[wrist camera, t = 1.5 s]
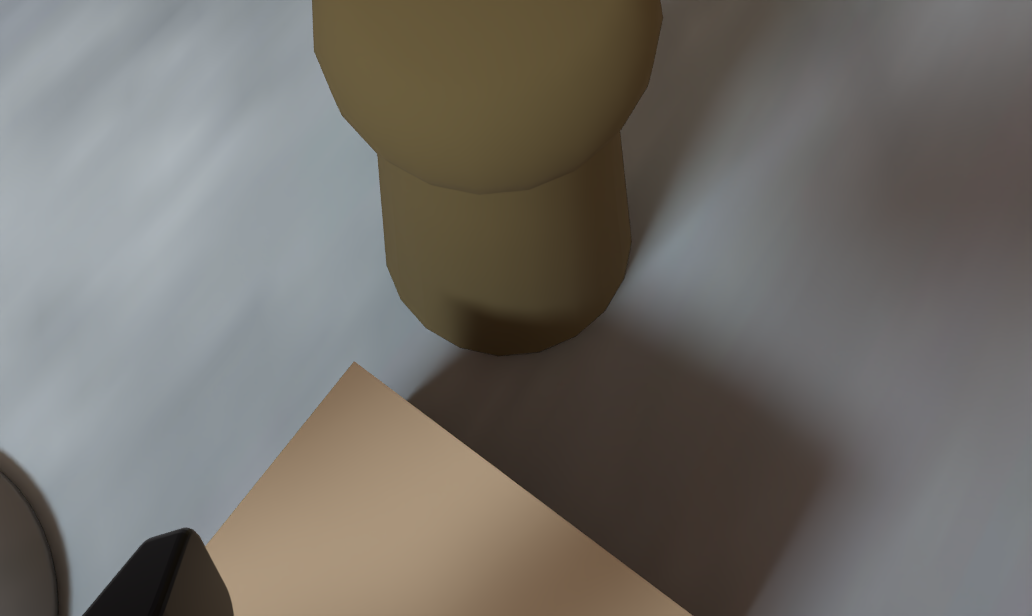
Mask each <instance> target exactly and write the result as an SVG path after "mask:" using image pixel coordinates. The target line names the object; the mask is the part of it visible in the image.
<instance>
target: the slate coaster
mask: <svg viewBox="0 0 1032 616" xmlns="http://www.w3.org/2000/svg"><path fill="white" fill-rule="evenodd" d="M0 616H58V596H57V583H56V574H55V570H54V565H53V560H52V555H51V551H50V548H49V545H48V543H47V540H46V537H45V534H44V531H43V529H42V526H41V525H40V523H39V521H38V519H37V517H36V515H35V513H34V511H33V509H32V508H31V506H30V504H29V503H28V502H27V500H26V499H25V498H24V496H23V495H22V494H21V492H20V491H19V489H18V488H17V487H16V486H15V485H14V484H13V483H12V482H11V481H10V480H9V479H8V478H7V477H6V476H5V475H4V474H3V473H2V472H1V471H0Z"/></svg>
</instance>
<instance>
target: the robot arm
mask: <svg viewBox="0 0 1032 616" xmlns="http://www.w3.org/2000/svg"><path fill="white" fill-rule="evenodd" d="M82 616H234V612H233V606H232V601H231V598H230V595H229V592H228V589H227V587H226V585H225V583H224V581H223V579H222V577H221V576H220V574H219V572H218V570H217V568H216V566H215V564H214V562H213V560H212V559H211V557H210V555H209V553H208V551H207V549H206V547H205V545H204V543H203V542H202V540H201V538H200V536H199V535H198V534H197V533H196V532H195V531H194V530H193V529H190V528H187V527H186V528H181V529H178V530H175V531H171V532H168V533H165V534H161V535H158V536H155V537H152V538H149V539H147V540H146V541H145V542H144V543H143V544H142V545H141V546H140V547H139V548H138V549H137V550H136V552H135V553H134V554H133V555H132V556H131V558H130V559H129V560H128V561H127V562H126V564H125V565H124V566H123V567H122V569H121V570H120V571H119V572H118V573H117V575H116V576H115V577H114V578H113V579H112V581H111V582H110V583H109V584H108V585H107V587H106V588H105V589H104V590H103V591H102V593H101V594H100V595H99V596H98V597H97V599H96V600H95V601H94V602H93V603H92V605H91V606H90V607H89V608H88V609H87V611H86V612H85V613H84V614H83V615H82Z"/></svg>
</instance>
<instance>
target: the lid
mask: <svg viewBox="0 0 1032 616" xmlns="http://www.w3.org/2000/svg"><path fill="white" fill-rule="evenodd" d="M205 547H206V549H207V551H208V553H209V555H210V557H211V559H212V560H213V562H214V564H215V566H216V568H217V570H218V572H219V574H220V576H221V577H222V579H223V581H224V583H225V585H226V587H227V589H228V592H229V595H230V598H231V601H232V606H233V612H234V616H693V615H691V614H690V613H689V612H687V611H686V610H685V609H683V608H682V607H681V606H679V605H678V604H677V603H675V602H674V601H673V600H671V599H670V598H669V597H667V596H666V595H665V594H663V593H662V592H661V591H659V590H658V589H657V588H655V587H654V586H653V585H651V584H650V583H649V582H647V581H646V580H645V579H643V578H642V577H641V576H639V575H638V574H637V573H635V572H634V571H633V570H631V569H630V568H629V567H627V566H626V565H625V564H623V563H622V562H621V561H619V560H618V559H617V558H615V557H614V556H613V555H611V554H610V553H609V552H607V551H606V550H605V549H603V548H602V547H601V546H599V545H598V544H597V543H595V542H594V541H593V540H591V539H590V538H589V537H587V536H586V535H585V534H583V533H582V532H581V531H579V530H578V529H577V528H575V527H574V526H573V525H571V524H570V523H569V522H567V521H566V520H565V519H563V518H562V517H561V516H559V515H558V514H557V513H555V512H554V511H553V510H551V509H550V508H549V507H547V506H546V505H545V504H543V503H542V502H541V501H539V500H538V499H537V498H535V497H534V496H533V495H531V494H530V493H529V492H527V491H526V490H525V489H523V488H522V487H521V486H519V485H518V484H517V483H515V482H514V481H513V480H511V479H510V478H509V477H507V476H506V475H505V474H503V473H502V472H501V471H499V470H498V469H497V468H495V467H494V466H493V465H491V464H490V463H489V462H487V461H486V460H485V459H483V458H482V457H481V456H479V455H478V454H477V453H475V452H474V451H473V450H471V449H470V448H469V447H467V446H466V445H465V444H463V443H462V442H461V441H459V440H458V439H457V438H455V437H454V436H453V435H451V434H450V433H449V432H448V431H446V430H445V429H444V428H442V427H441V426H440V425H438V424H437V423H436V422H434V421H433V420H432V419H430V418H429V417H428V416H426V415H425V414H424V413H422V412H421V411H420V410H418V409H417V408H416V407H414V406H413V405H412V404H410V403H409V402H408V401H406V400H405V399H404V398H402V397H401V396H400V395H398V394H397V393H396V392H394V391H393V390H392V389H390V388H389V387H388V386H386V385H385V384H384V383H382V382H381V381H380V380H378V379H377V378H376V377H374V376H373V375H372V374H370V373H369V372H368V371H366V370H365V369H364V368H362V367H361V366H360V365H358V364H357V363H356V362H353V363H352V365H351V366H350V367H349V368H348V370H347V371H346V372H345V373H344V375H343V376H342V377H341V378H340V380H339V381H338V382H337V383H336V385H335V386H334V387H333V388H332V390H331V391H330V392H329V393H328V395H327V396H326V397H325V398H324V399H323V401H322V402H321V403H320V404H319V406H318V407H317V408H316V409H315V411H314V412H313V413H312V414H311V416H310V417H309V418H308V419H307V421H306V422H305V423H304V424H303V426H302V427H301V428H300V429H299V431H298V432H297V433H296V434H295V436H294V437H293V438H292V439H291V441H290V442H289V443H288V444H287V445H286V447H285V448H284V449H283V450H282V452H281V453H280V454H279V455H278V457H277V458H276V459H275V460H274V462H273V463H272V464H271V465H270V467H269V468H268V469H267V470H266V472H265V473H264V474H263V475H262V477H261V478H260V479H259V480H258V482H257V483H256V484H255V485H254V487H253V488H252V489H251V490H250V492H249V493H248V494H247V495H246V496H245V498H244V499H243V500H242V501H241V503H240V504H239V505H238V506H237V508H236V509H235V510H234V511H233V513H232V514H231V515H230V516H229V518H228V519H227V520H226V521H225V523H224V524H223V525H222V526H221V528H220V529H219V530H218V531H217V533H216V534H215V535H214V536H213V538H212V539H211V540H210V541H209V542H208V544H207V545H206V546H205Z"/></svg>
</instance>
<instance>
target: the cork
mask: <svg viewBox="0 0 1032 616" xmlns="http://www.w3.org/2000/svg"><path fill="white" fill-rule="evenodd" d="M312 11H313V37H314V52H315V54H316V57H317V59H318V62H319V64H320V66H321V69H322V71H323V74H324V76H325V78H326V81H327V83H328V85H329V88H330V90H331V93H332V95H333V97H334V99H335V102H336V104H337V106H338V108H339V110H340V112H341V115H342V116H343V117H344V118H345V119H346V120H347V122H348V123H349V124H350V125H351V126H352V127H353V128H354V129H355V130H356V131H357V132H358V134H359V135H360V136H361V137H362V138H363V139H364V140H365V141H366V142H367V143H368V144H369V145H370V147H371V148H372V149H373V150H374V151H375V152H376V153H377V156H378V168H379V180H380V192H381V204H382V216H383V228H384V240H385V252H386V264H387V268H388V270H389V272H390V275H391V277H392V280H393V282H394V284H395V287H396V289H397V292H398V294H399V296H400V299H401V300H402V301H403V303H404V304H405V305H406V306H407V307H408V308H409V309H410V311H411V312H412V313H413V314H414V315H415V316H416V317H417V318H418V320H419V321H420V322H421V323H422V324H423V325H424V326H425V327H426V328H427V329H429V330H430V331H432V332H434V333H435V334H437V335H439V336H441V337H442V338H444V339H446V340H448V341H449V342H451V343H453V344H455V345H456V346H458V347H460V348H464V349H469V350H474V351H478V352H483V353H488V354H492V355H497V356H503V355H513V354H524V353H534V352H540V351H542V350H545V349H547V348H549V347H552V346H554V345H556V344H559V343H561V342H564V341H566V340H568V339H571V338H573V337H575V336H577V335H578V334H579V333H580V332H581V331H582V330H583V329H585V328H586V327H587V326H588V325H589V324H590V323H591V322H593V321H594V320H595V319H596V318H597V317H598V316H600V315H601V314H602V313H603V312H604V311H605V310H606V308H607V306H608V305H609V303H610V301H611V300H612V298H613V296H614V295H615V293H616V291H617V289H618V288H619V286H620V284H621V283H622V281H623V279H624V277H625V272H626V267H627V262H628V257H629V252H630V247H631V242H632V241H631V232H630V222H629V212H628V203H627V193H626V184H625V174H624V165H623V155H622V146H621V136H620V130H621V129H622V127H623V126H624V124H625V123H626V121H627V119H628V118H629V116H630V114H631V113H632V111H633V110H634V108H635V106H636V105H637V103H638V101H639V100H640V98H641V97H642V95H643V93H644V92H645V90H646V88H647V87H648V84H649V80H650V76H651V72H652V68H653V63H654V58H655V54H656V49H657V44H658V39H659V34H660V30H661V25H662V20H663V15H662V8H661V2H660V0H312Z"/></svg>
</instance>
